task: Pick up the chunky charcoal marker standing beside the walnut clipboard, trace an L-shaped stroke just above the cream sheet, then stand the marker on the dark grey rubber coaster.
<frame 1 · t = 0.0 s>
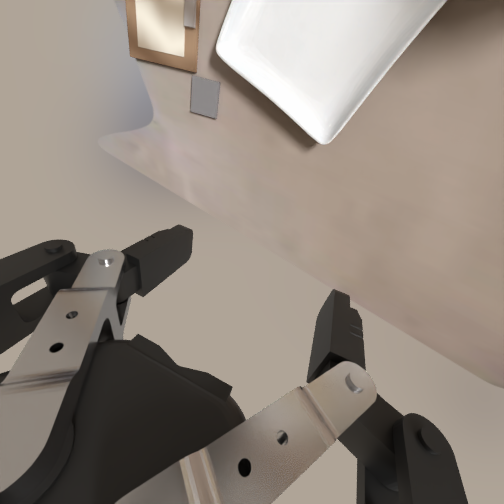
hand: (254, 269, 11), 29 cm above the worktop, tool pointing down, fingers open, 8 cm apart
salad plate: (325, 17, 27), on the worktop
coaster: (205, 97, 36), on the worktop
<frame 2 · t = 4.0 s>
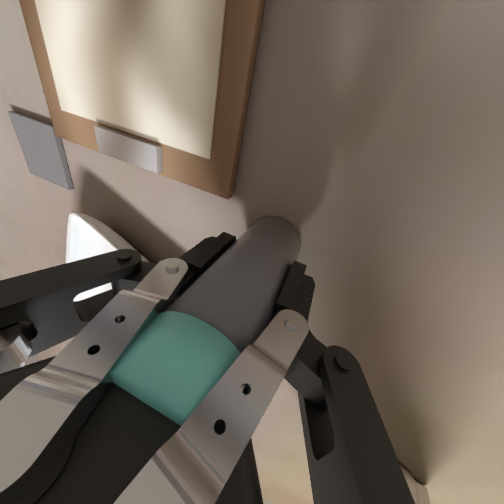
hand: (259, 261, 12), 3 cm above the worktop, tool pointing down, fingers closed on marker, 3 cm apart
marker: (273, 241, 14), on the worktop, touching gripper
clipboard: (130, 41, 12), on the worktop
salad plate: (162, 319, 26), on the worktop
coaster: (45, 152, 19), on the worktop
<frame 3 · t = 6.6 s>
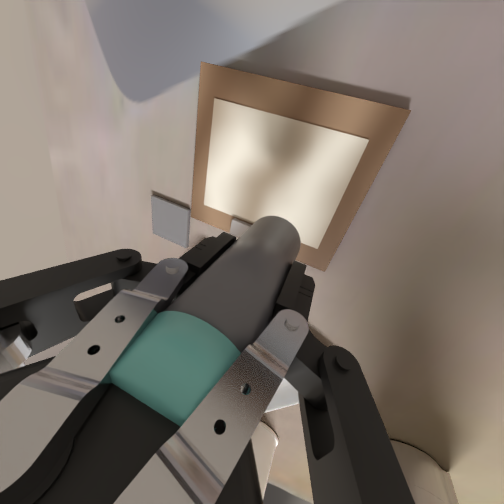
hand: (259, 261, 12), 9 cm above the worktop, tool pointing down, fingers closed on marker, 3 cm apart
marker: (273, 241, 14), point 6 cm above the worktop, touching gripper
white nozzle bottle: (254, 428, 43), on the worktop
clipboard: (271, 177, 18), on the worktop
salad plate: (235, 340, 32), on the worktop
coaster: (171, 221, 25), on the worktop
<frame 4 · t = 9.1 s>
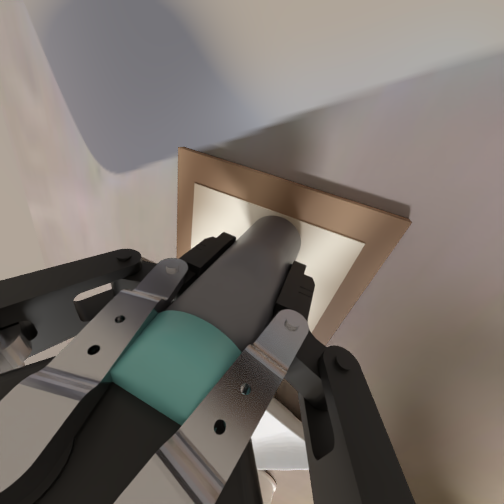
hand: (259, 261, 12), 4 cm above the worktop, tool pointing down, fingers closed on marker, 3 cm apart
marker: (274, 241, 14), point 1 cm above the worktop, touching gripper
white nozzle bottle: (251, 470, 41), on the worktop
clipboard: (260, 259, 17), on the worktop
salad plate: (229, 393, 31), on the worktop
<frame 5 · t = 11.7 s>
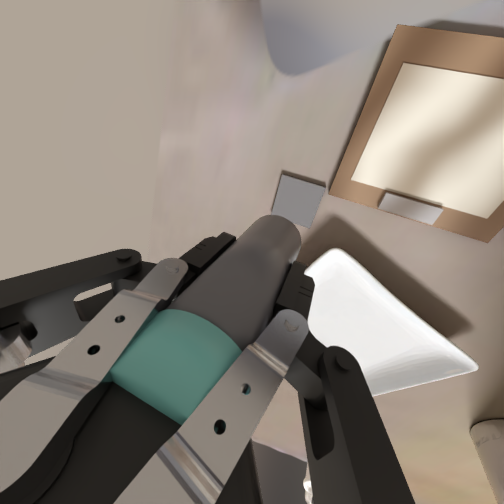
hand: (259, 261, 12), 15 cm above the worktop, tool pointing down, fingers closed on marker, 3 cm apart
marker: (274, 240, 14), point 12 cm above the worktop, touching gripper
clipboard: (445, 145, 18), on the worktop
salad plate: (337, 324, 32), on the worktop
coaster: (296, 201, 25), on the worktop
when the fingers open (4 cm above the worktop, at t = 14.2 s): marker stays where it is, resting on coaster.
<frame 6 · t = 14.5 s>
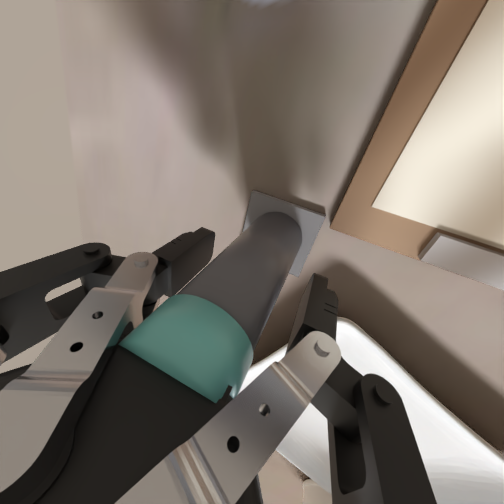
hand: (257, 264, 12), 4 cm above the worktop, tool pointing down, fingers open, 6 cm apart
marker: (276, 236, 15), resting on coaster
white nozzle bottle: (330, 494, 33), on the worktop
salad plate: (338, 400, 22), on the worktop
coaster: (277, 234, 15), on the worktop
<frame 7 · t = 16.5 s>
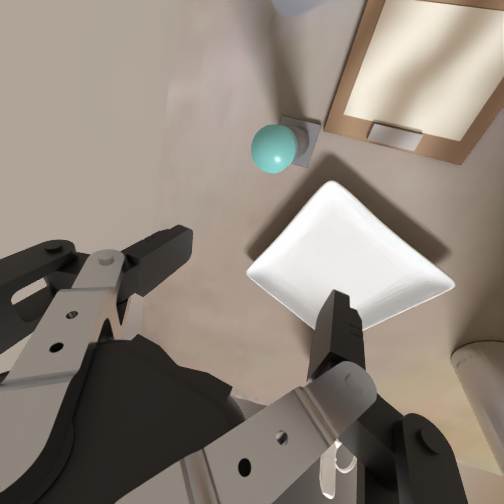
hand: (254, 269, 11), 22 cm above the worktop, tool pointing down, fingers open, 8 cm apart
marker: (294, 142, 27), resting on coaster
white nozzle bottle: (330, 364, 46), on the worktop
clipboard: (423, 75, 21), on the worktop
salad plate: (332, 266, 35), on the worktop
coaster: (295, 142, 28), on the worktop
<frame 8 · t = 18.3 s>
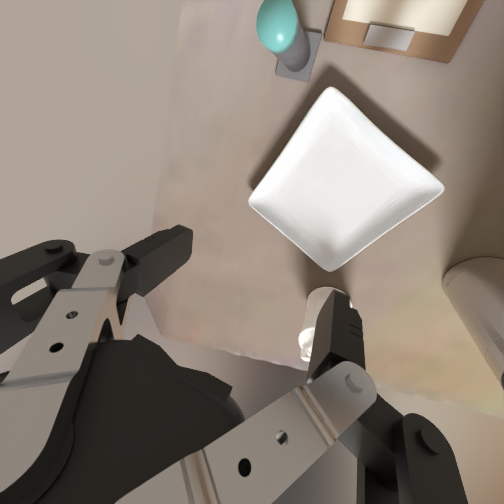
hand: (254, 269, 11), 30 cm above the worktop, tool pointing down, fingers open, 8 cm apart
marker: (297, 55, 29), resting on coaster
white nozzle bottle: (327, 303, 47), on the worktop
salad plate: (330, 191, 37), on the worktop
coaster: (297, 56, 30), on the worktop
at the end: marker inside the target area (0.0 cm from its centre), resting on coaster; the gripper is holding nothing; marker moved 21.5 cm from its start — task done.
